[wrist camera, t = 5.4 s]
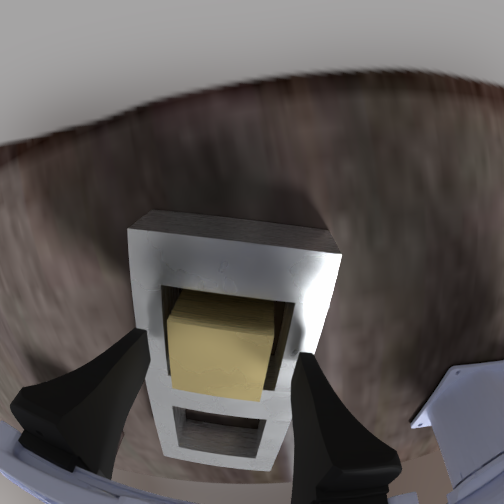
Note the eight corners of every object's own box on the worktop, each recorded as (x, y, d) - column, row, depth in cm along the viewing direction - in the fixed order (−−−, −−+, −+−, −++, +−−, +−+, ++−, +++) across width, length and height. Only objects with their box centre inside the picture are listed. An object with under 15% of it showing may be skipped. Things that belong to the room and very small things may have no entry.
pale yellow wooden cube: (273, 283, 16) (274, 336, 12) (262, 346, 18) (259, 401, 14) (191, 272, 16) (166, 320, 12) (190, 335, 18) (172, 388, 14)
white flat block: (329, 230, 14) (341, 254, 12) (270, 443, 22) (270, 471, 20) (152, 209, 15) (127, 228, 12) (171, 429, 23) (164, 455, 20)
